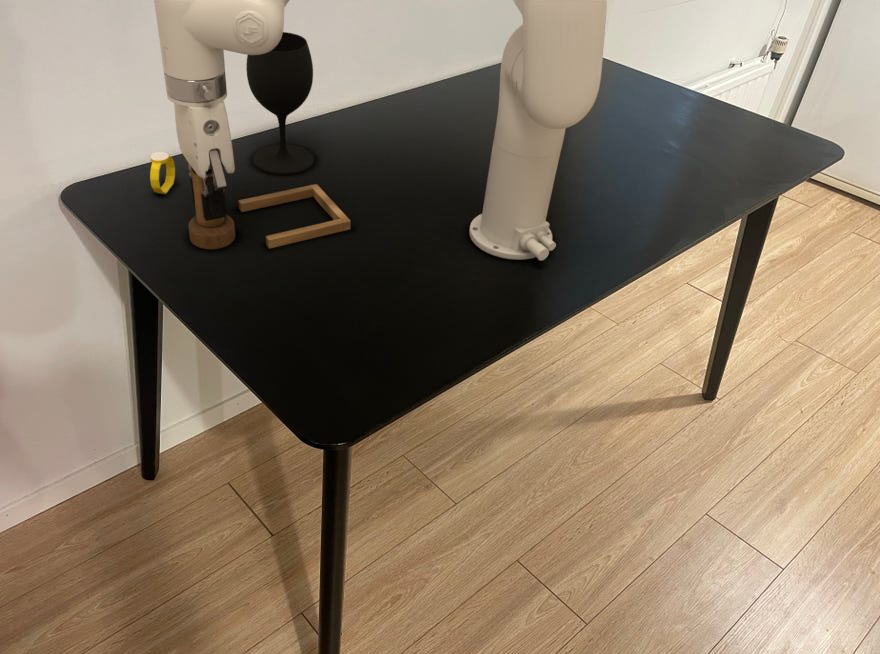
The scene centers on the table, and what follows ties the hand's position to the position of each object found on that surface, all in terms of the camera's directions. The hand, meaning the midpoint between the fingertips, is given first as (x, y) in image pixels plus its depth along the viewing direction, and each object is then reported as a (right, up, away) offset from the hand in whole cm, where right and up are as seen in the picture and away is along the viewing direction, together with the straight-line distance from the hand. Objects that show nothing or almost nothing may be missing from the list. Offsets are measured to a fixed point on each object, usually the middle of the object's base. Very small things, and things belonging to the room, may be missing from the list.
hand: (209, 208), depth 111 cm
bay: (+10, 0, +8) cm, 13 cm away
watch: (-10, +5, +13) cm, 17 cm away
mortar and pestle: (0, -4, +3) cm, 5 cm away
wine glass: (+7, +12, +22) cm, 27 cm away
